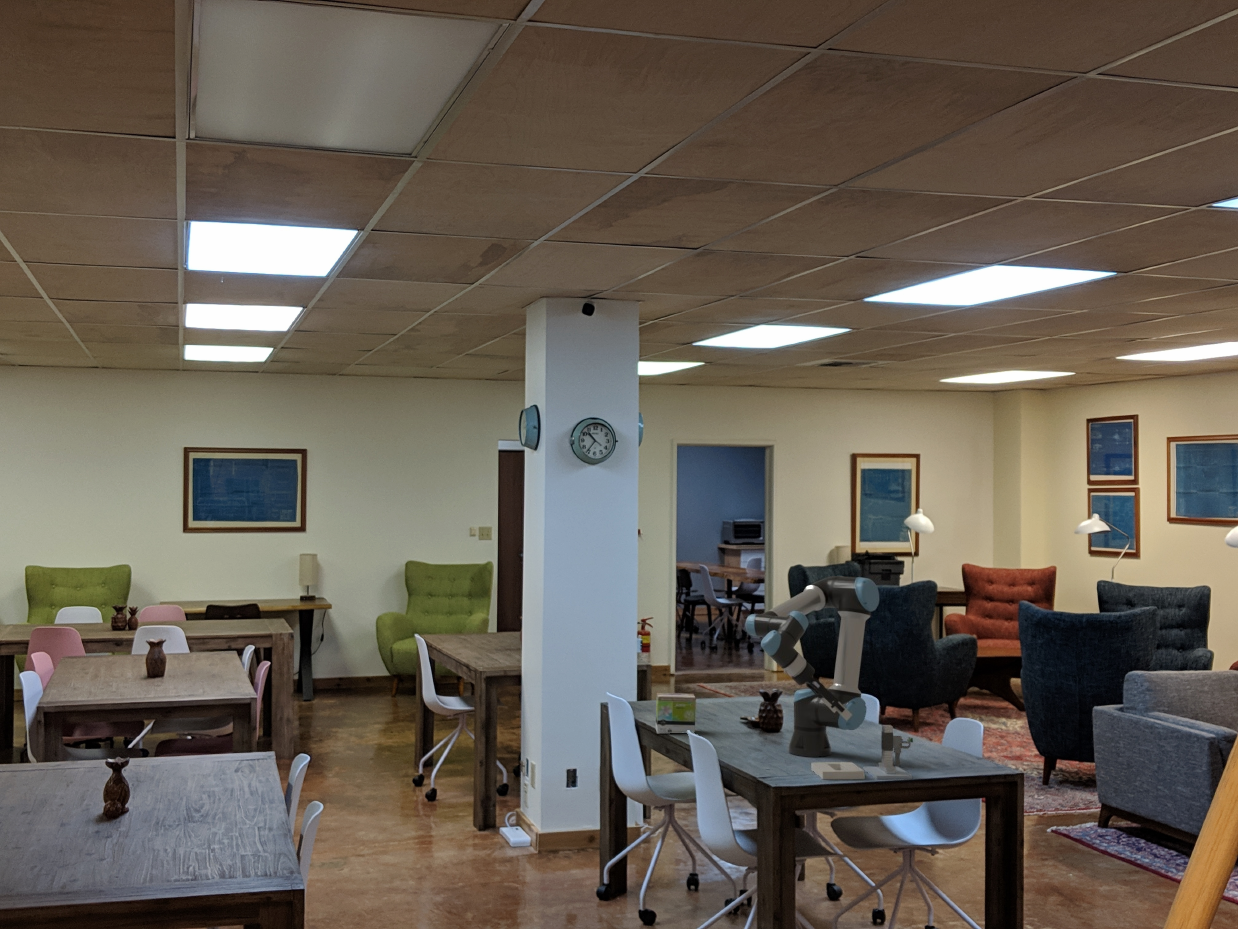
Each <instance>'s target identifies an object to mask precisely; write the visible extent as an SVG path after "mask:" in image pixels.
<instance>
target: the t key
mask: <svg viewBox="0 0 1238 929" xmlns="http://www.w3.org/2000/svg"><path fill="white" fill-rule="evenodd" d="M880 733H881V736H880V738H881V744H880V745H881V746H880V747H881V762H878V767H879V769H880V770H881V771H883V772H884V773H886V774H896V767H897V766H894V763H893V762H894V761H893V760H894V759H893V758H894V755H893V753H894V748H893V736H894V727H893V726H892V725H891V724H882V725H881V732H880Z"/></svg>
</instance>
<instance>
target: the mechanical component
mask: <svg viewBox="0 0 1238 929" xmlns="http://www.w3.org/2000/svg"><path fill="white" fill-rule="evenodd" d="M907 738H908V739H907V740H906V741H905V740H904V739H903V737H902V736H901V735H893V753H894V765H895V767H900V765H901V764H900V763H901V761H900V760H901V758H900V756H901V754H902V749H905V750H907V749H910V748H911V745H912V744H911V743H913V742H914V738H913V737H911V736H908V737H907ZM903 744H908V745H903Z"/></svg>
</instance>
